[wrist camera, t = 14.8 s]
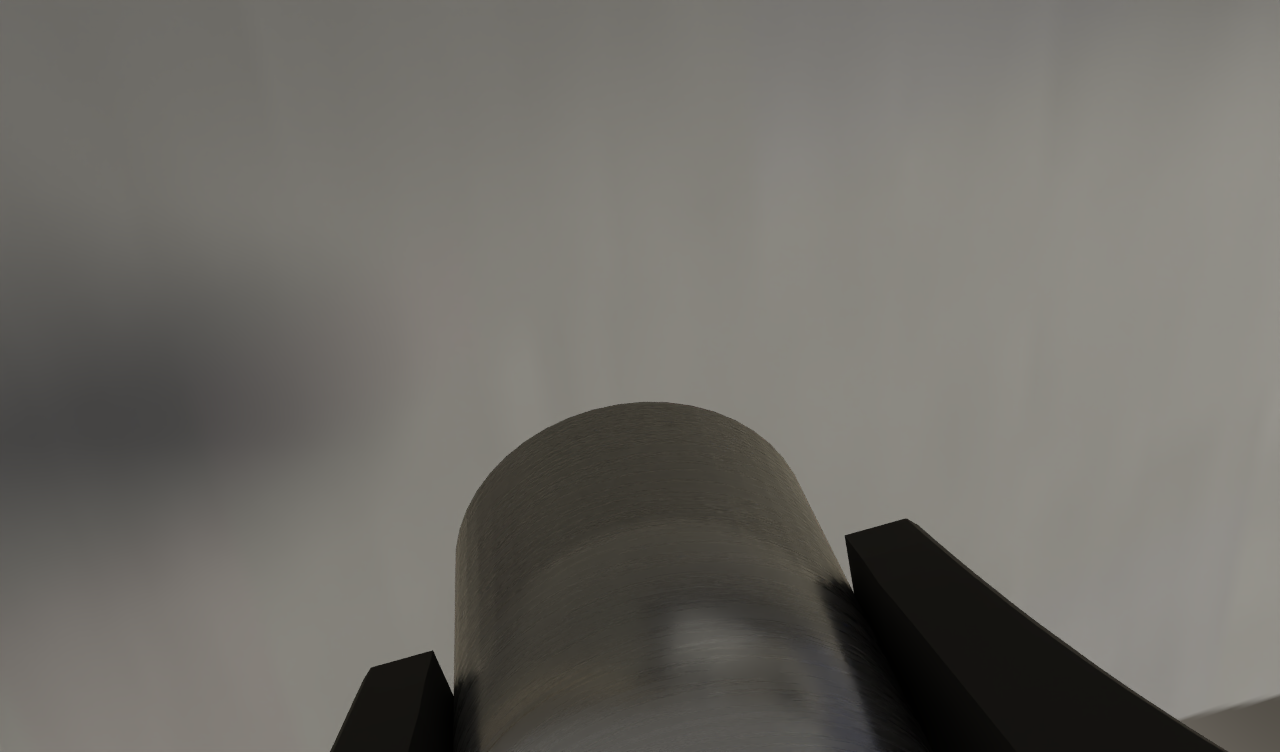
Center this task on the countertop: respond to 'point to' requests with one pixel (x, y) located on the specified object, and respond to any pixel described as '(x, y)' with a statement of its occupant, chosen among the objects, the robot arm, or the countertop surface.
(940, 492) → the countertop surface
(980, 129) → the countertop surface
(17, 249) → the countertop surface
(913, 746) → the cylinder
